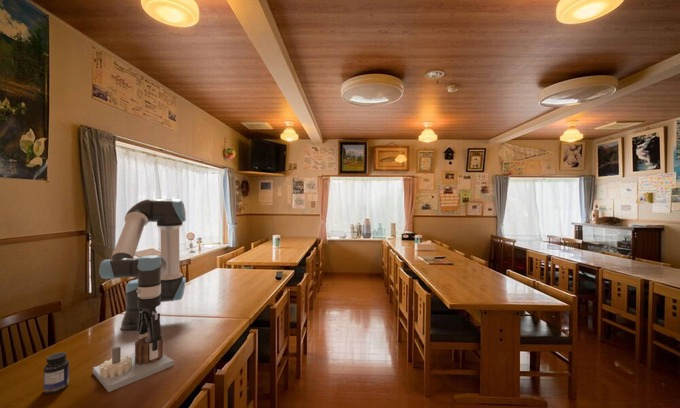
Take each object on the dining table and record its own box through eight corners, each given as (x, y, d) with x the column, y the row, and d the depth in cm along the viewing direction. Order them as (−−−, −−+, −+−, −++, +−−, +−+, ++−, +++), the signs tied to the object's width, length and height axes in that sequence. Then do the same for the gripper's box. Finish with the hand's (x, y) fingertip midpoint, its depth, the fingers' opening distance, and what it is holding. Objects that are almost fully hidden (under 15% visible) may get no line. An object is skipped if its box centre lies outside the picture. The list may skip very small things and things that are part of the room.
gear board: (92, 373, 107) (93, 345, 107) (153, 351, 123) (154, 327, 123) (108, 392, 96) (108, 361, 96) (173, 365, 112) (173, 339, 112)
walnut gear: (131, 359, 113) (131, 341, 113) (157, 350, 120) (157, 333, 120) (139, 367, 107) (140, 348, 107) (166, 357, 114) (166, 339, 114)
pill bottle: (54, 383, 100) (55, 351, 101) (73, 382, 101) (74, 350, 101) (37, 395, 94) (38, 360, 94) (58, 394, 95) (58, 359, 95)
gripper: (127, 293, 117) (127, 349, 117) (149, 304, 104) (148, 368, 104) (149, 289, 123) (148, 342, 123) (172, 299, 110) (171, 359, 110)
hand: (148, 354), depth 113 cm, fingers closed on walnut gear, 9 cm apart
